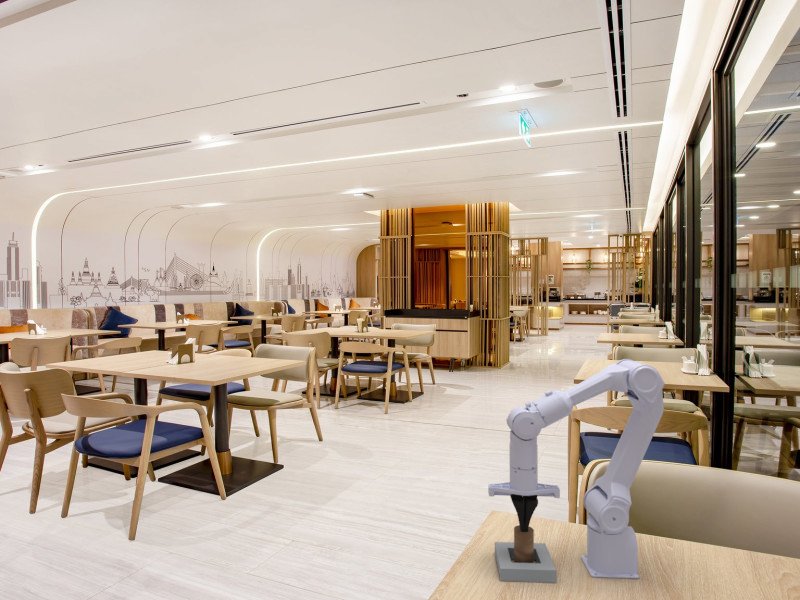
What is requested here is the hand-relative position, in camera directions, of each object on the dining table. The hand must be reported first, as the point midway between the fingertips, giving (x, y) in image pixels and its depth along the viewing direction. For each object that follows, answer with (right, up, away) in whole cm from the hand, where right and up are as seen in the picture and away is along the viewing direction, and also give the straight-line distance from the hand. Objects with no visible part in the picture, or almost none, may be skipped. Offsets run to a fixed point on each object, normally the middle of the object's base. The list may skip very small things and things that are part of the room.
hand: (523, 529), depth 108 cm
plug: (0, -8, 0) cm, 8 cm away
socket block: (0, -8, 0) cm, 8 cm away
